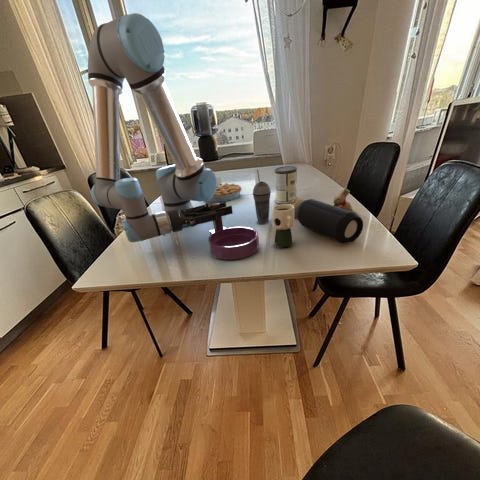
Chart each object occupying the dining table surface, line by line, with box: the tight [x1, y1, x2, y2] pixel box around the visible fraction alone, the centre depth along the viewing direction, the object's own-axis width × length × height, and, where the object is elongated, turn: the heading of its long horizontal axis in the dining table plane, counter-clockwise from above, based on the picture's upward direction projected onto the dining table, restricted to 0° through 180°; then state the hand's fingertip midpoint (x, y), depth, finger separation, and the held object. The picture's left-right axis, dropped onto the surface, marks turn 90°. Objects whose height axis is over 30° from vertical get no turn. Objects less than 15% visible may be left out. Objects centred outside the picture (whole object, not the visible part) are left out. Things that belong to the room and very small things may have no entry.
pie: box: [208, 182, 243, 203], centre depth 153 cm, size 22×22×5 cm
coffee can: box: [274, 165, 298, 204], centre depth 134 cm, size 10×10×14 cm
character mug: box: [271, 203, 295, 248], centre depth 95 cm, size 11×7×13 cm, turn 19°
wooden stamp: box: [208, 202, 227, 237], centre depth 107 cm, size 6×4×12 cm
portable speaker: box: [296, 198, 364, 244], centre depth 100 cm, size 26×10×10 cm, turn 27°
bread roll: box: [290, 198, 306, 219], centre depth 119 cm, size 10×10×8 cm
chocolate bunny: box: [332, 187, 353, 212], centre depth 115 cm, size 6×8×10 cm
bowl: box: [208, 226, 260, 261], centre depth 98 cm, size 17×17×5 cm
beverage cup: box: [252, 169, 272, 225], centre depth 112 cm, size 7×7×20 cm
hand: (228, 207), depth 106 cm, fingers open, 5 cm apart
